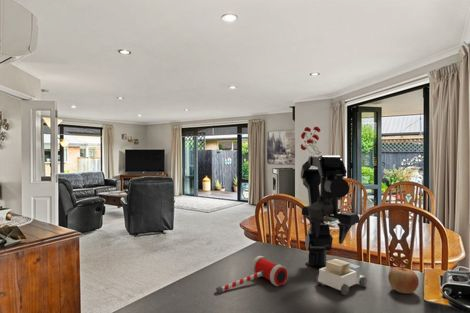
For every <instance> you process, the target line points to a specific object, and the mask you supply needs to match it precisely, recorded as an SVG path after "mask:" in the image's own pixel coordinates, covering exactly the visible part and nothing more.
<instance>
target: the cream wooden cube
mask: <svg viewBox="0 0 470 313" xmlns="http://www.w3.org/2000/svg"><path fill="white" fill-rule="evenodd" d="M349 267H350V262H348V261H345V260H342V259H337V258H333V259H331V260H326V271H328V272H331V273H333V274H336V275H339V276H343V275H346V274H349Z"/></svg>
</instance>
